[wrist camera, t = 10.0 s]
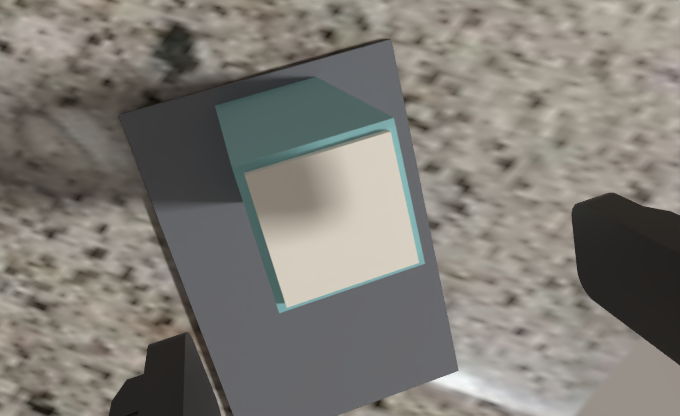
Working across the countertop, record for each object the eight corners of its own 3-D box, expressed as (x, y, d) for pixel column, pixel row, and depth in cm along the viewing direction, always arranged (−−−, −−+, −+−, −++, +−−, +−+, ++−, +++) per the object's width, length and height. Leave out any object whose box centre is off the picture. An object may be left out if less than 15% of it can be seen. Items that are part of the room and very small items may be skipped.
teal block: (214, 105, 25) (232, 169, 15) (316, 76, 26) (397, 119, 16) (245, 201, 27) (280, 318, 17) (340, 172, 28) (428, 267, 17)
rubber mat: (119, 114, 25) (118, 115, 25) (388, 39, 27) (391, 39, 26) (245, 443, 31) (246, 448, 31) (455, 366, 33) (458, 370, 33)
